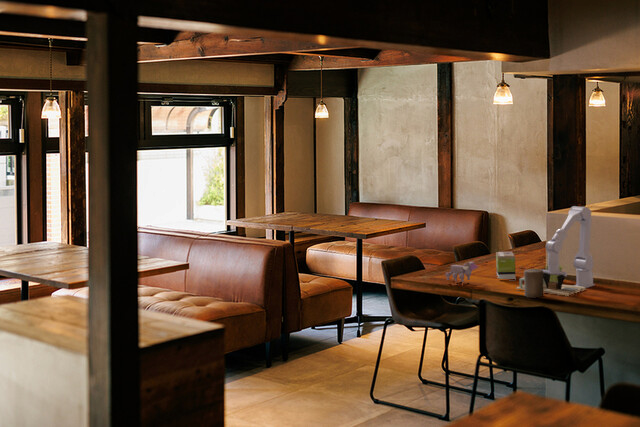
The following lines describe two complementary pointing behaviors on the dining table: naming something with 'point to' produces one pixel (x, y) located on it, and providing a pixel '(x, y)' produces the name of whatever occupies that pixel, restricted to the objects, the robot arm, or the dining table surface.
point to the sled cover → (522, 282)
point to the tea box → (505, 265)
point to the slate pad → (568, 289)
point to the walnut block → (553, 285)
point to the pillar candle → (533, 283)
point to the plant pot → (554, 277)
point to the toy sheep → (461, 271)
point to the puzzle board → (559, 290)
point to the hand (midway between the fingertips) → (553, 288)
